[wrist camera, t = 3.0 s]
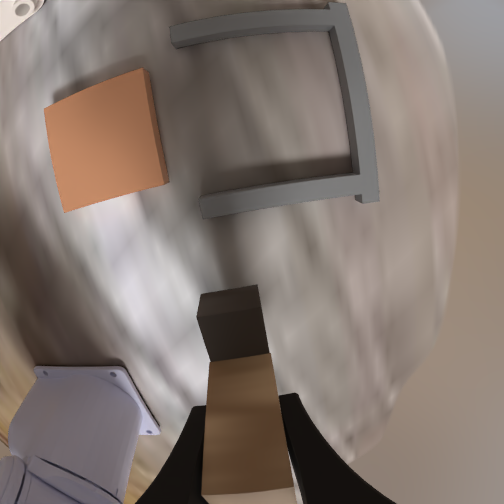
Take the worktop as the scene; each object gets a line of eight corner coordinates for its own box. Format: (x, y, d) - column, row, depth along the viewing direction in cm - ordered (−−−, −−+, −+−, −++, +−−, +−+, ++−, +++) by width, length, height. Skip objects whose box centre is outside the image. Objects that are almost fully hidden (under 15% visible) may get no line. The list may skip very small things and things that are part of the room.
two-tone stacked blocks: (232, 401, 15) (237, 530, 7) (200, 294, 12) (171, 459, 5) (278, 395, 15) (300, 523, 7) (258, 284, 12) (287, 450, 5)
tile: (77, 206, 15) (64, 213, 13) (58, 110, 13) (43, 108, 11) (171, 180, 15) (164, 184, 13) (151, 74, 13) (142, 67, 11)
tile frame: (206, 224, 15) (204, 229, 14) (172, 25, 11) (168, 19, 10) (371, 197, 15) (379, 201, 14) (339, 9, 11) (346, 3, 10)
